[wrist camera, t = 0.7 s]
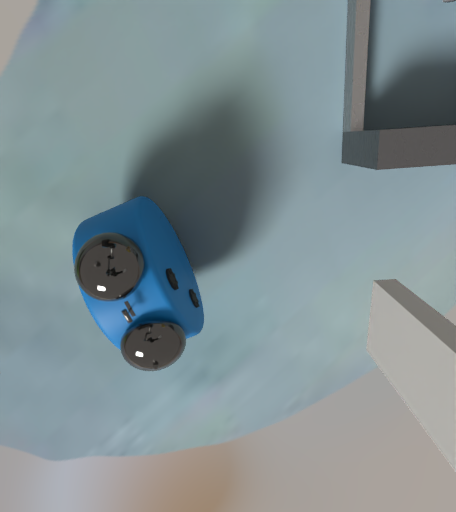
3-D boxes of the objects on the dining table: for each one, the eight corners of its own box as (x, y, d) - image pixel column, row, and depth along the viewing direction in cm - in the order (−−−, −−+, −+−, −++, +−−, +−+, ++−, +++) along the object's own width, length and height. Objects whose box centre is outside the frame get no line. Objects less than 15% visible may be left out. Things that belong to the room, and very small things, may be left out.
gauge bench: (350, -54, 30) (397, -119, 22) (514, -63, 30) (615, -130, 23) (341, 162, 36) (377, 169, 28) (479, 153, 36) (551, 157, 29)
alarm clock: (101, 208, 36) (31, 253, 22) (155, 184, 36) (120, 214, 21) (158, 312, 40) (130, 407, 26) (208, 292, 40) (207, 377, 25)
